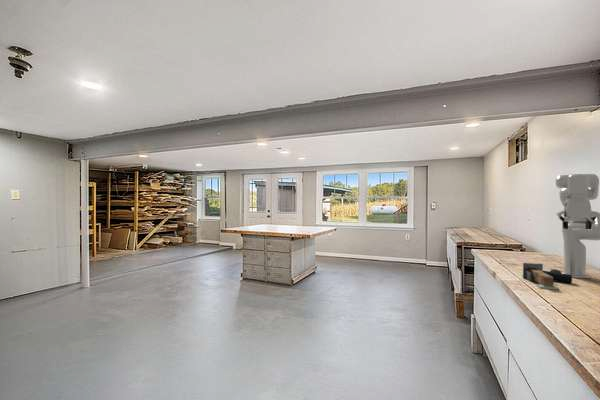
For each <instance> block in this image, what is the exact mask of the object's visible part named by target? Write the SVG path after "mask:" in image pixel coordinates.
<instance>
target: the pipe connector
mask: <svg viewBox="0 0 600 400" xmlns="http://www.w3.org/2000/svg"><path fill="white" fill-rule="evenodd" d="M561 271H562V270H559V269H555V268H554V269H553V268H552V269H550V271H548V270H543V272H544V273H546V274H548V275H550V276H552V277H553V282H558V283H562V284H569V285H572V283H573V277H572V275H569V274H562V273H561Z"/></svg>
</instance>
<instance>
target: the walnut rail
mask: <svg viewBox="0 0 600 400" xmlns="http://www.w3.org/2000/svg"><path fill="white" fill-rule="evenodd" d="M530 272H531V273H532V279H533V280H535V281H536V282H535V283H537V284H541V285H543V286H548V287H553V285H554V281H553V277H552V276H550V275H548V274H546V273H544V272H542V271H540V270H537V269H530Z"/></svg>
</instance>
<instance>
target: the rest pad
mask: <svg viewBox="0 0 600 400" xmlns="http://www.w3.org/2000/svg"><path fill="white" fill-rule="evenodd" d="M536 287H538V289H545V290H555V291H556V290H557V291H560V287H558V286H556V285H554V284H553V287H548V286H543V285H541V284H540V283H537V284H536Z"/></svg>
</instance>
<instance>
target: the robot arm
mask: <svg viewBox="0 0 600 400" xmlns="http://www.w3.org/2000/svg"><path fill="white" fill-rule="evenodd" d="M555 186H556V187H557V189H560V191H559V200H560V203H561V204H562V206H563V210H561V211H559V212H556V216H557V218H558V219H559V220H560V221H561V222H562V228H561V232H562V237H563V266H562V269H563V270H560V271H561V273H562V274H569V275H572V278H575V279H576V278H577V279H590V275H589V274H587V273H586V272H587V247H586V245H585V244H584V243H583V242H582V241H600V212H598V211H596V210H595V211H592V205H591V202H590V201H593V200H596V199H597V198H598V196H599V187H600V178H599V176H598V175H597V174H594V173H573V174H571V173H570V174H561V175H557V176H556V179H555Z"/></svg>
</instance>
